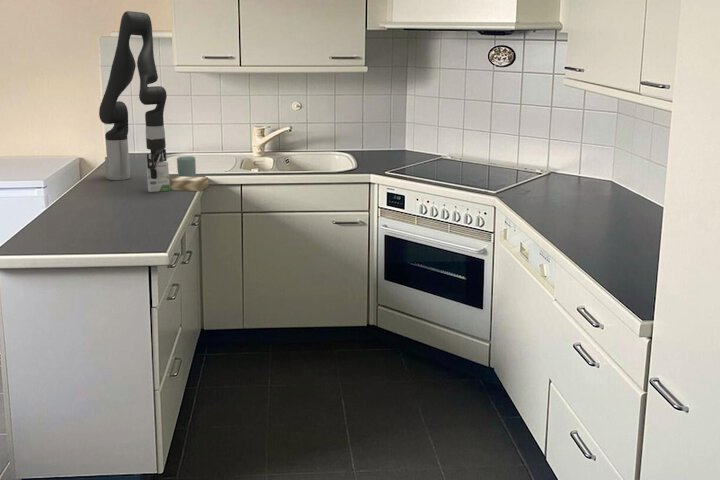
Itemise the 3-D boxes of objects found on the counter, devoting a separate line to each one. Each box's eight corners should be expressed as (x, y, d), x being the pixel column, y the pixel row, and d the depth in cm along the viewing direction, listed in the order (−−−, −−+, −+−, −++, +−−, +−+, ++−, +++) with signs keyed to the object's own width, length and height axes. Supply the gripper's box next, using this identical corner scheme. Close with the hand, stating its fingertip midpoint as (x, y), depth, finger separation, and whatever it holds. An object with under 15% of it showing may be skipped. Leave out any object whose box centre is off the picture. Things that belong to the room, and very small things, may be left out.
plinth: (170, 189, 349) (170, 180, 348) (178, 185, 358) (178, 176, 357) (201, 190, 347) (200, 180, 346) (208, 186, 356) (208, 176, 355)
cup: (194, 182, 365) (193, 159, 363) (176, 182, 365) (174, 159, 363) (198, 178, 373) (196, 156, 370) (180, 178, 373) (179, 156, 370)
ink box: (169, 188, 352) (167, 160, 349) (170, 191, 348) (168, 162, 345) (147, 189, 350) (145, 161, 347) (148, 192, 345) (146, 163, 342)
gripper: (153, 134, 350) (156, 173, 355) (139, 139, 337) (142, 179, 341) (171, 134, 349) (173, 173, 353) (157, 139, 336) (160, 180, 340)
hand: (158, 176), depth 347 cm, fingers open, 8 cm apart
